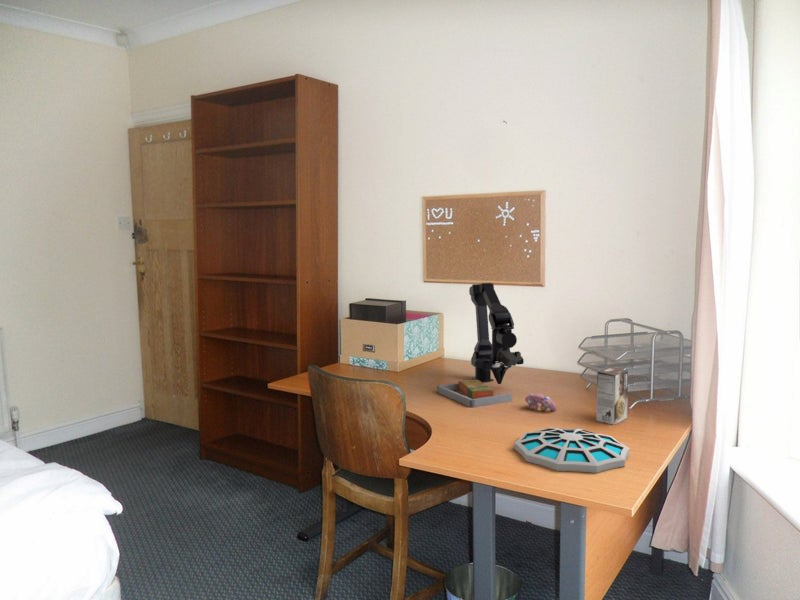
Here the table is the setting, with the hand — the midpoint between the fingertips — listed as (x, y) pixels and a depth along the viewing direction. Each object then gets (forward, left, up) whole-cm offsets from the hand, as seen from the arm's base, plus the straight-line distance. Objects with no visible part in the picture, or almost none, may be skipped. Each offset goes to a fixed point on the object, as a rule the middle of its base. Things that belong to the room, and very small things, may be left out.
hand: (499, 384), depth 231 cm
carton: (-2, -10, -4) cm, 10 cm away
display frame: (0, -11, -3) cm, 12 cm away
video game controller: (+25, -1, -4) cm, 25 cm away
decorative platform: (+61, -21, -4) cm, 64 cm away
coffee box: (+45, +11, -4) cm, 46 cm away
